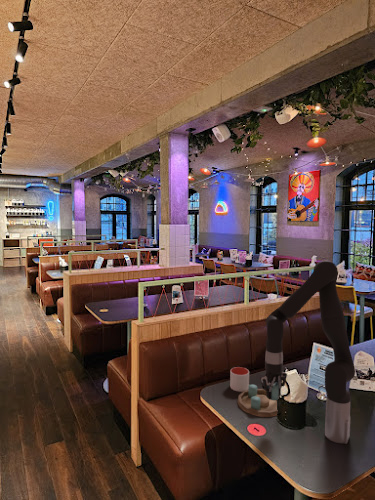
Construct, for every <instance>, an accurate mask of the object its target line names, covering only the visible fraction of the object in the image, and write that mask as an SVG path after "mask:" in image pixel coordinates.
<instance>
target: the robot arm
mask: <svg viewBox="0 0 375 500" xmlns="http://www.w3.org/2000/svg"><path fill="white" fill-rule="evenodd" d="M338 272H339V269H338V267H337V265H336V264H335V263H334V262H332V261H330V260H321V261H318V262H317V263H316V264H315V265H314V267H313V271H312V273H311V274H310V275H309V277H308V278H307V279H306V280H305V281H304V282H303V283H302V285H300V286H299V287H298V288H297V289H296V290H295V291H294V292H292V293H291V294H290V295H289V296H288V297H287V298H286V300H284V301H283V302H282V304H281V305H280V306H279V307H277V308H276V309H274V310H273V311H272V312H271V313H269V315H268V316H267V317H266V319H265V325H266V333H267V334H266V335H267V336H266V337H267V338H266V341H265V353H264V354H265V360H264V367H265V368H264V370H265V375H264V377H262V376H261V377H260V378H259V381H260V383H261V389H264V390H265V391H266V397H267V398H268V399H271V397H272V392H271V390H272V387H273V385H274V384H276V385H278V386H279V397H280V396H281V395H282V394H281V393H282V388H284V387H285V385H286V381H287V377H288V373H286V372H284V371H283V369H284V368H283V367H284V365H283V363H284V362H283V361H284V355H283V354H284V353H283V337H284V329H285V328H284V323H285V322H286V321H287V320H289V319H292V318H294V317H295V316H296V315H297V313H299V312H300V311H301V309H302V308H303V307H304V306H306V304H307V303H308V302H309V300H310V299H312V297H313V296H315V295H316V293H318V296H319V298H318V299H319V314H320V321H321V325H322V326H321V327H322V330H323V333H324V334H325V336H326V338H327V339H328V341H329V342H330V345H331V346H332V351H333V357H334V360H333V361H331V362H329V363H328V364H326V366H325V369H324V389H325V393H326V399H325V401H326V402H325V403H326V404H325V419H324V422H325V423H324V424H325V425H324V435H325V437H326V438H327V440H329V441H331V442H333V443H337V444H345V445H347V444H348V442H349V439H350V433H351V414H350V413H351V398H352V397H351V392H350V391H348V390H347V383H348V382H350V381H352V380H353V379H354V378H355V376H356V368H355V364H354V360H353V356H352V353H351V350H350V349H351V348H350V343H349V339H348V338H349V337H348V333H347V328H346V327H347V326H346V318H345V314H344V311H343V306H342V303H341V300H340V298H339V294H338V291H337V281H336V279H337V276H338Z"/></svg>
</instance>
